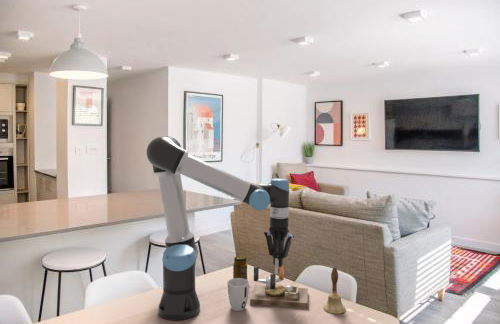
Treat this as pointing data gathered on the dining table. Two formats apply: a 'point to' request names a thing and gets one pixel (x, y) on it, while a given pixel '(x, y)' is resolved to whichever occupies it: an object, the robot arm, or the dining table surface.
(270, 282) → the capstan
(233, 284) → the cup
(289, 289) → the ball
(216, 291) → the dining table surface
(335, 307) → the hand bell
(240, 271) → the condiment
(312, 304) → the dining table surface
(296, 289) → the stand
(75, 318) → the dining table surface
